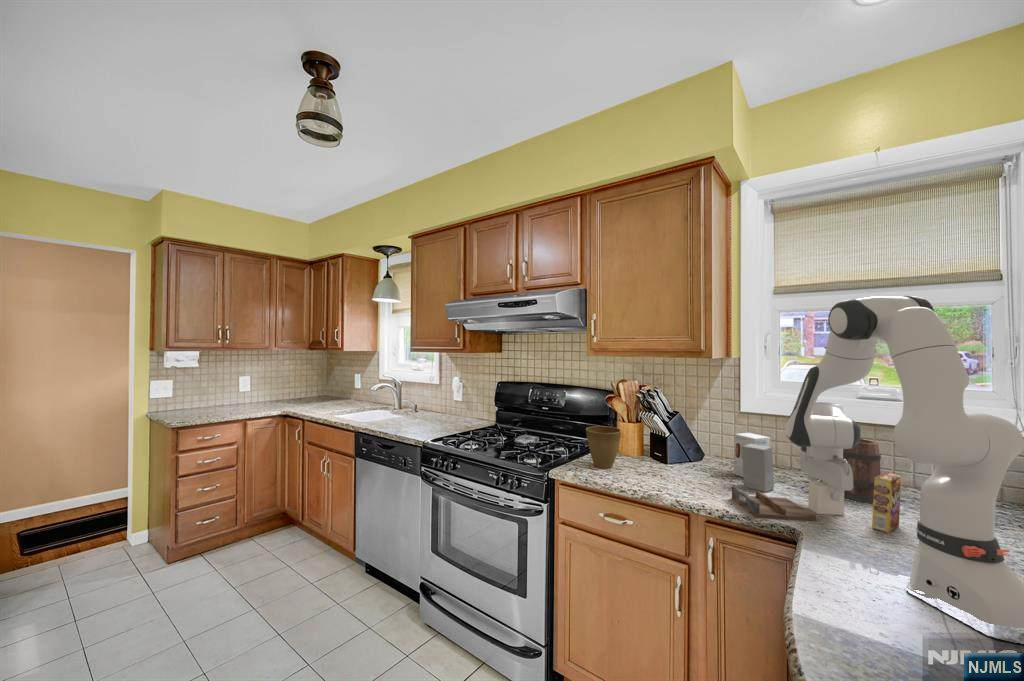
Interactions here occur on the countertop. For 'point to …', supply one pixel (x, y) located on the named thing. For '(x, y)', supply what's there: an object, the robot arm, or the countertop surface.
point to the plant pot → (603, 445)
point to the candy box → (886, 502)
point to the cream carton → (824, 499)
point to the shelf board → (770, 506)
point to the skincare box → (758, 467)
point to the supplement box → (746, 439)
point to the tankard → (863, 470)
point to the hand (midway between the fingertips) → (824, 494)
